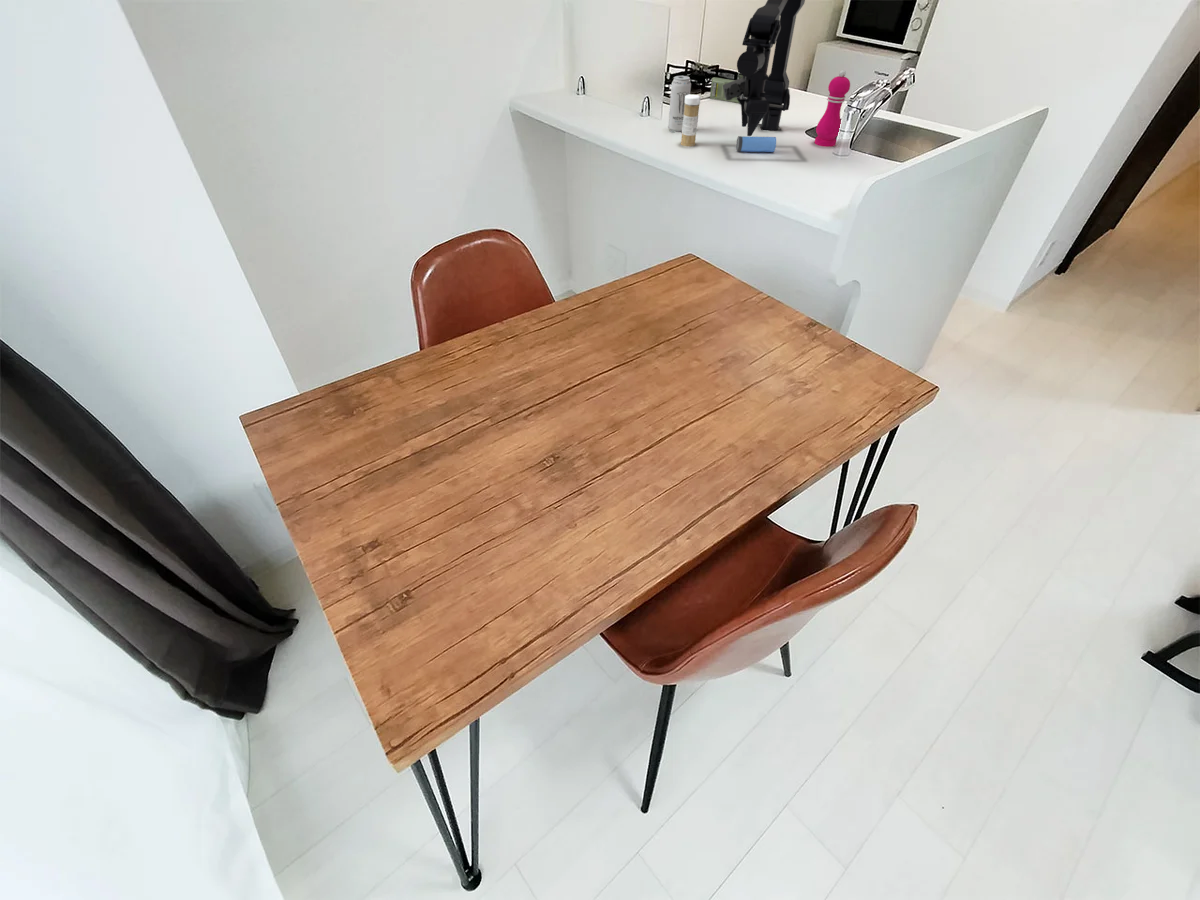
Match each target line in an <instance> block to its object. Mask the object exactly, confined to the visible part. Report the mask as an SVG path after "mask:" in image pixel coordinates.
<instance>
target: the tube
mask: <svg viewBox="0 0 1200 900" xmlns="http://www.w3.org/2000/svg"><path fill="white" fill-rule="evenodd" d="M735 142H736V143H735V152H737V153H740V152H743V153H744V152H747V153H749V152H750V153H752V152H753V153H774V152H775V151H776V147H777V137H776V136H744V135H743V136H742V135H738V136H737V138H736V141H735Z"/></svg>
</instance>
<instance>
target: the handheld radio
mask: <svg viewBox="0 0 1200 900" xmlns="http://www.w3.org/2000/svg"><path fill="white" fill-rule="evenodd" d="M735 80H736V79H728V78H722V77H712V78H711V83H710V84H711V85H710V93H709V99H713V100H717V101H723V102H724V101H725V102H730V103H736V104H740V103H739V102H738V100H737V98H736V97H734V98H732V99H731V100H726V98H725V96H724V90H723V85H724V84H727V83H729V82H732V81H735Z"/></svg>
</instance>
